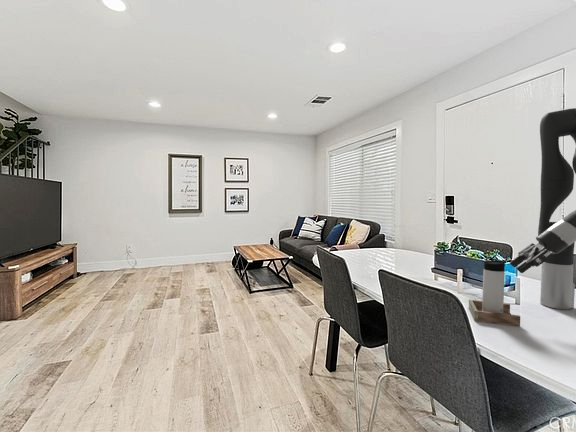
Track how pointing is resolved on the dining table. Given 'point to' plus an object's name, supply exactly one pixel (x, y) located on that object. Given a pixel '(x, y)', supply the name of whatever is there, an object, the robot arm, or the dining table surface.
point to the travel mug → (493, 286)
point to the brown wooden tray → (493, 314)
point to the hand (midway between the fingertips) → (515, 268)
